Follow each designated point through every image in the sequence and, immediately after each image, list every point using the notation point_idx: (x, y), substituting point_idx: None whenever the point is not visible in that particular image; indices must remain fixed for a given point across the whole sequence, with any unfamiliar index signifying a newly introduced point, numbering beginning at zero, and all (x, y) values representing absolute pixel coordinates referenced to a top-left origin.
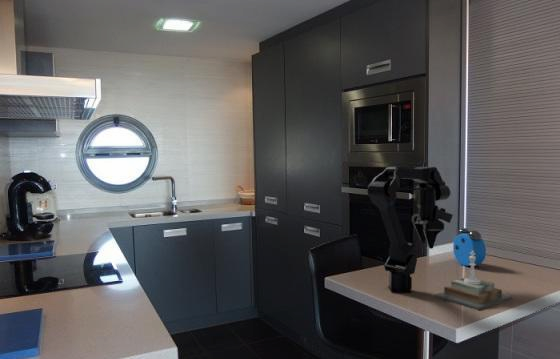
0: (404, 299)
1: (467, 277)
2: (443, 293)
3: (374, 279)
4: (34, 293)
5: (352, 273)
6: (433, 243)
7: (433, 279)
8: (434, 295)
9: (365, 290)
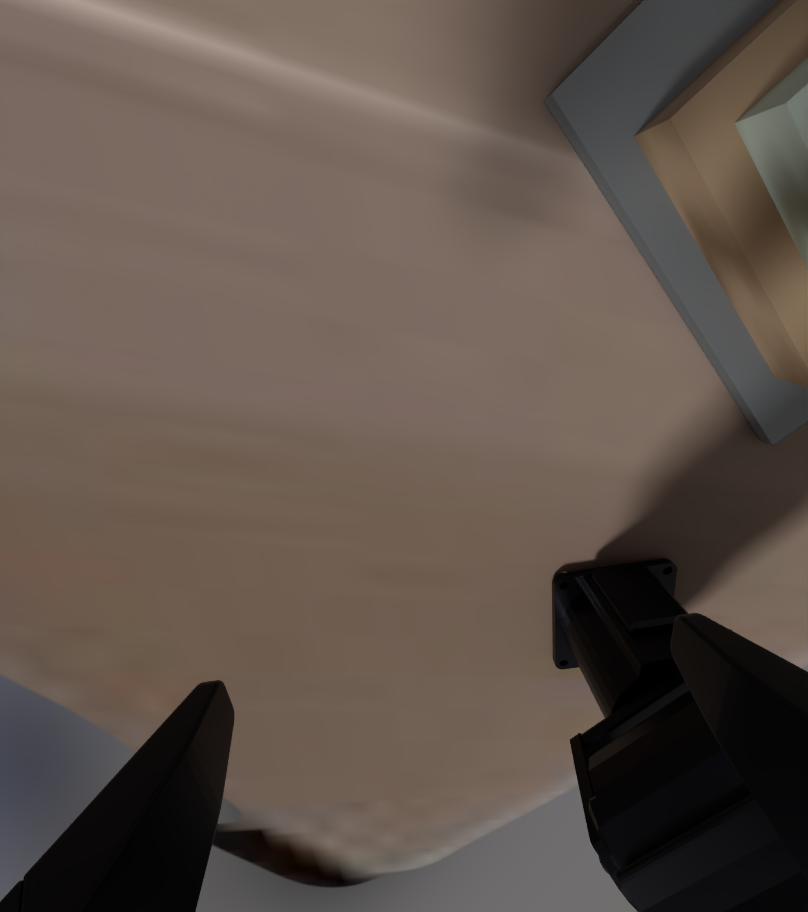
0: (770, 597)
1: (806, 120)
2: (765, 381)
3: (388, 715)
4: None
5: (278, 804)
6: (803, 684)
7: (318, 369)
8: (768, 442)
9: None
